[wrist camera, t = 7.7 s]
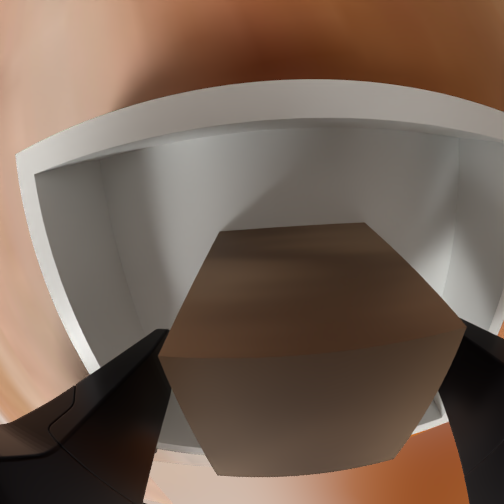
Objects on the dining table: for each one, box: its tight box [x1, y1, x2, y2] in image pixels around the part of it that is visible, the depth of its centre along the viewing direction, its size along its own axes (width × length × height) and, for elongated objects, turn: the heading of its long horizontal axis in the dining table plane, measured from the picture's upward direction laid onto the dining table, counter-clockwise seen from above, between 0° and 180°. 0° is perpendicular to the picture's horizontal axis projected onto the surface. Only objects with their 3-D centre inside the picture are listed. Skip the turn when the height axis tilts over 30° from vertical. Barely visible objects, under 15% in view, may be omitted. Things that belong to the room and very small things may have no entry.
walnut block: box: [158, 222, 467, 477], centre depth 7 cm, size 5×5×6 cm
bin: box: [15, 79, 504, 455], centre depth 9 cm, size 15×13×4 cm
